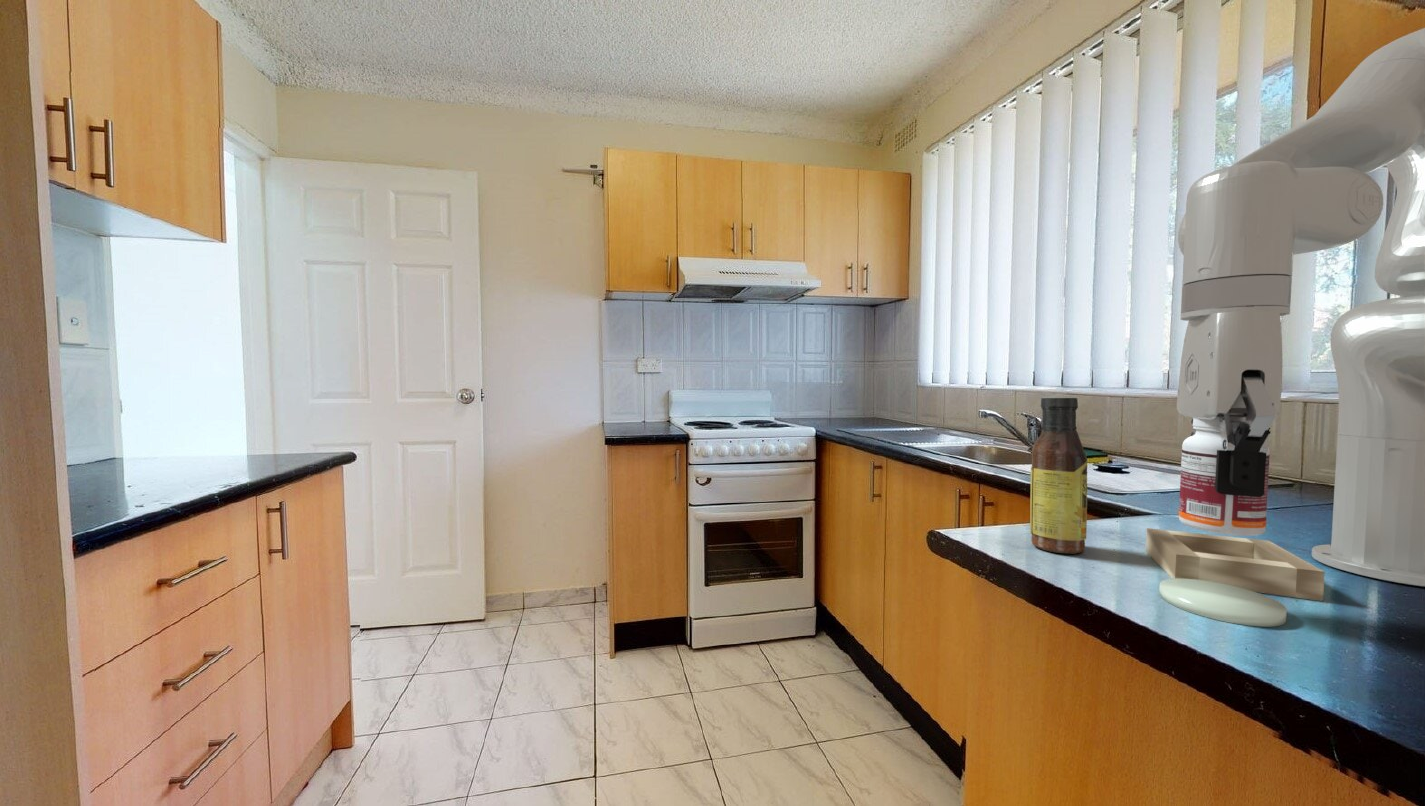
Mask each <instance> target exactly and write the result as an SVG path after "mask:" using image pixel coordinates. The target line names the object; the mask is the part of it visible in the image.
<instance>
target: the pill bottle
mask: <svg viewBox="0 0 1425 806" xmlns="http://www.w3.org/2000/svg"><path fill="white" fill-rule="evenodd" d="M1229 416H1234V415H1229ZM1245 417H1247V416H1245ZM1192 419H1193V424H1192V426H1194V427H1193V428H1194V429H1196V433H1195V435H1193V436H1191V435H1190V436H1188V437H1186V438H1185V439H1184V440H1183V441H1182V445H1181V460H1180V481H1179V482H1180V485H1179V499H1178V500H1179V503H1178V504H1179V505H1178V518H1179V521H1180V522H1181V523H1182V524H1183V525H1185V526H1187V527H1189V528H1192V529H1197V530H1200V531H1204V532H1209V533H1213V534H1214V533H1215V534H1222V535H1229V536H1240V537H1241V536H1242V537H1243V536H1245V537H1256V536H1257V537H1258V536H1261V535H1263V534H1264V533H1265V532H1266V528H1267V515H1268V494H1269V493H1268V492H1269V489H1268V488H1269V471H1270V452H1271V450H1270V447H1269V446H1268V451H1267V453H1266V469H1265V487H1264V495H1263V496H1262V497H1250V496H1238V495H1226V494H1220V493H1218V492H1216V490H1215V479H1216V460H1217V450H1223V448H1222V440H1221V431H1220V422H1219V415H1217V416H1216V418H1214V419H1212V420H1206V419H1198V418H1192ZM1236 428H1237V426H1233V432H1234V434H1235V432H1236Z"/></svg>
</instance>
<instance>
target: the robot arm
mask: <svg viewBox="0 0 1425 806" xmlns="http://www.w3.org/2000/svg"><path fill="white" fill-rule="evenodd" d="M1385 166H1386V168H1387V170H1388V171H1389V173H1390V175H1391V178H1392V179H1393V181H1394V183H1395V187H1396V195H1395V196H1396V197H1395V201H1394V204H1393V208H1392V211H1391V214H1390V217H1389V220H1388V223H1387V226H1386V229H1385V232H1384V235H1383V238H1382V241H1381V243H1380V247H1379V250H1378V252H1377V253H1378V254H1377V256H1376V261H1375V267H1374V280H1375V283H1376V284H1377V285H1378V287H1379V288H1380V289H1381V290H1383V291H1384V292H1386V293H1388V294H1391V295H1394V296H1399V297H1395V298H1385V299H1381V300H1380V299H1379V300H1376V301H1371V302H1366V303H1364V304H1360V305H1358V306H1355V307H1353V308H1351V309H1349V310H1347V311H1346V312H1344V313H1343V314H1341V315H1340V317H1338V318H1337V320H1336V321H1335V323H1334V324H1333V326H1332V328H1331V332H1330V350H1331V356H1332V360H1333V364H1334V368H1335V375H1336V380H1337V381H1336V383H1337V391H1338V419H1337V435H1336V436H1337V437H1336V455H1335V456H1336V457H1335V471H1334V473H1335V475H1334V489H1333V491H1334V492H1333V508H1332V524H1331V525H1332V526H1331V542H1330V543H1331V544H1319V545H1315V546H1313V547H1311V556H1312V558H1313V559H1314V560H1316V561H1318V562H1319V563H1321V564H1324V565H1326V566H1328V567H1332V568H1335V569H1337V570H1341V571H1345V572H1348V573H1353V574H1356V575H1359V576H1364V577H1369V578H1373V579H1378V580H1382V581H1387V582H1393V583H1398V584H1404V585H1410V586H1416V587H1417V586H1418V587H1423V588H1424V587H1425V27H1423V28H1421V29H1419V30H1416V31H1413V32H1410V33H1408V34H1406V35H1404V36H1401V37H1399V38H1397V39H1395V40H1392V41H1391V42H1389V43H1388V44H1385V45H1383V46H1381V47H1380V48H1378V49H1377V50H1375V51H1373V52H1372V53H1370V54H1369V55H1368V56H1366V58H1365V59H1364V60H1362V61H1361V62H1360V63H1359V64H1358V65H1357V66H1356V67H1355V69H1353V70H1352V72H1351V73H1350V74H1349V75H1348V76H1347V78H1346V79H1345V80H1344V81H1343V82H1342V83H1340V85H1339V86H1338V88H1337V89H1336V90H1335V91H1334V92H1333V94H1332V95H1331V96H1330V97H1329V98H1328V100H1327V101H1326V102H1325V103H1324V104H1323V105H1321V107H1320V108H1319V109H1318V111H1317V112H1316V113H1315V114H1314V115H1313V116H1311V117H1309V118H1308V119H1306V120H1304V121H1302V122H1301V123H1299V124H1297V125H1295V126H1293V127H1292V128H1290V129H1288V130H1287V131H1285V132H1283V133H1282V134H1280V135H1279V136H1277V137H1276V138H1274V139H1273V140H1271V141H1269V142H1268V143H1266V144H1264V145H1262V146H1261V147H1259V148H1257V149H1256V150H1254V151H1253V152H1251V153H1249V154H1247V155H1246V156H1244V157H1243V158H1241V159H1239V160H1238V161H1237V162H1235V163H1233V164H1232V165H1231V166H1226V167H1223V168H1220V169H1217V170H1215V171H1212V172H1209V173H1206V174H1205V175H1203V176H1201V177H1200V178H1198V179H1197V180H1196V181H1194V182H1193V184H1192V185H1191V186H1190V187H1189V190H1188V193H1187V194H1186V195H1187V196H1186V202H1185V203H1186V204H1185V213H1184V215H1183V217H1182V218H1181V222H1180V223H1179V224H1180V225H1179V228H1178V233H1177V243H1178V248H1179V250H1180V252H1181V254H1182V256H1183V263H1182V279H1181V280H1182V282H1181V285H1182V286H1181V301H1180V303H1181V304H1180V320H1181V321H1187V326H1186V330H1185V334H1184V339H1183V346H1182V352H1181V360H1180V368H1179V379H1178V387H1177V398H1176V410H1177V411H1176V412H1178V413H1179V414H1180V415H1182V416H1183V417H1186V418H1191V425H1192V426H1191V431H1190V436H1193V435H1195V433H1196V429H1194V428H1193V427H1194V426H1193V418H1198V419H1206V420H1212V419H1214V418H1216V416H1217V415H1219V422H1220V431H1221V440H1222V448H1223V450H1217V460H1216V479H1215V490H1216V492H1218V493H1220V494H1226V495H1238V496H1250V497H1262V496H1263V495H1264V487H1265V469H1266V453H1267V451H1268V447H1269V442H1268V441H1269V439H1268V436H1269V435H1270V434H1271V431H1270V430H1271V425H1272V423H1273V422H1274V420H1275V419H1276V416H1277V415H1278V414H1279V411H1280V407H1281V399H1282V387H1283V338H1282V337H1283V336H1282V323H1281V322H1282V321H1281V317H1284V316H1286V315H1287V316H1288V315H1290V314H1291V302H1292V301H1291V300H1292V299H1291V298H1292V286H1293V285H1292V282H1293V281H1292V280H1293V269H1294V268H1293V267H1294V266H1293V265H1294V255H1300V254H1307V253H1313V252H1319V251H1324V250H1329V249H1333V248H1337V247H1340V246H1344V245H1346V244H1347V245H1348V244H1349V243H1352V242H1354V241H1356V240H1358V239H1360V238H1361V237H1363V236H1364V235H1366V234H1367V233H1368V232H1370V231H1371V229H1372V228H1373V227H1374V226H1375V225H1376V224H1377V222H1378V221H1379V219H1380V217H1381V216H1382V211H1383V210H1384V195H1383V190H1382V189H1381V187H1380V185H1379V183H1378V182H1377V181H1376V180H1375V179H1374V178H1373V177H1372V176H1371V175H1369V174H1370V173H1372V172H1374V171H1376V170H1379V169H1381V168H1382V167H1385ZM1229 415H1234V416H1229ZM1245 416H1247V417H1245ZM1233 426H1237V428H1236V432H1235V434H1234V432H1233Z"/></svg>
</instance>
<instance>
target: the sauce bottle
mask: <svg viewBox="0 0 1425 806" xmlns="http://www.w3.org/2000/svg"><path fill="white" fill-rule="evenodd" d="M1040 408H1041V411H1042V416H1041V417H1042V418H1041V419H1042V423H1041V424H1042V425H1041V430H1042V431H1041V433H1040V435H1039V437H1038V438H1037V439H1036V440H1035V442H1034V443H1033V445H1032V449H1031V467H1030V498H1029V499H1030V507H1029V508H1030V510H1029V511H1030V512H1029V514H1030V515H1029V517H1030V518H1029V520H1030V522H1029V523H1030V524H1029V525H1030V527H1029V528H1030V529H1029V532H1030V534H1031V536H1030V539H1031V540H1030V541H1031V543H1032V545H1033V546H1034V547H1035V548H1038V549H1040V550H1042V551H1046V552H1050V553H1058V554H1072V555H1074V554H1080V553H1082V552H1083V551H1084V550H1085V548H1086V547H1085V546H1086V542H1085V540H1086V539H1087V526H1088V525H1087V522H1088V521H1087V517H1088V511H1087V510H1088V458H1087V455H1086V453H1085V450H1084V446H1083V443H1082V442H1081V439H1080V435H1079V433H1078V430H1077V428H1078V427H1077V410H1078V408H1079V403H1078V397H1076V396H1075V397H1073V396H1071V397H1067V396H1065V397H1062V396H1056V397H1055V396H1044V397H1041V399H1040Z"/></svg>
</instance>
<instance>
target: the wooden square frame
mask: <svg viewBox="0 0 1425 806" xmlns="http://www.w3.org/2000/svg"><path fill="white" fill-rule="evenodd" d="M1145 537H1146V538H1145V540H1146V542H1145V552H1146V553H1147V554H1148V555H1149V556H1150V557H1151V559H1152V560H1154V562H1156V563H1157V564H1158V565H1159V567H1160V568H1161V569H1162V570H1164V572H1165V573H1166V574H1167V575H1168V576H1169V577H1170V579H1175V578H1183V579H1197V580H1205V581H1211V582H1217V583H1222V584H1227V585H1231V586H1235V587H1239V588H1243V589H1247V590H1250V591H1253V592H1256V593H1259V594H1267V595H1275V596H1282V597H1287V598H1288V597H1289V598H1296V599H1297V598H1298V599H1304V600H1305V599H1306V600H1311V601H1319V602H1323V601H1324V590H1325V589H1324V588H1325V571H1324V570H1322V569H1320V568H1319V567H1318V566H1317V567H1316V566H1315V565H1313V564H1312V563H1310V562H1309V561H1306V560H1304V559H1302V558H1301V557H1299V556H1297V555H1295V554H1293V553H1292V552H1290V551H1289V550H1286V549H1284V548H1283V547H1281V546H1279V545H1278V544H1275V543H1274V542H1272V541H1270V540H1266V539H1263V540H1262V539H1258V538H1257V539H1256V538H1247V537H1246V538H1245V537H1236V536H1235V537H1234V536H1227V535H1226V536H1225V535H1216V534H1205V533H1197V532H1187V531H1180V530H1179V531H1177V530H1166V529H1158V528H1157V529H1156V528H1146V536H1145Z"/></svg>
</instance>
